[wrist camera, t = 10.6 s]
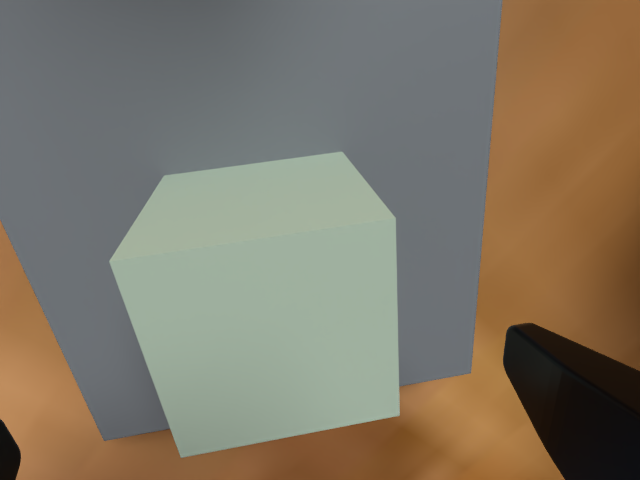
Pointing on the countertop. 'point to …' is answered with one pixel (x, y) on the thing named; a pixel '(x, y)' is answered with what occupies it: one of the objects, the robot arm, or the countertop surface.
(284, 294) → the green cube
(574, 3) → the countertop surface
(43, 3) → the base
